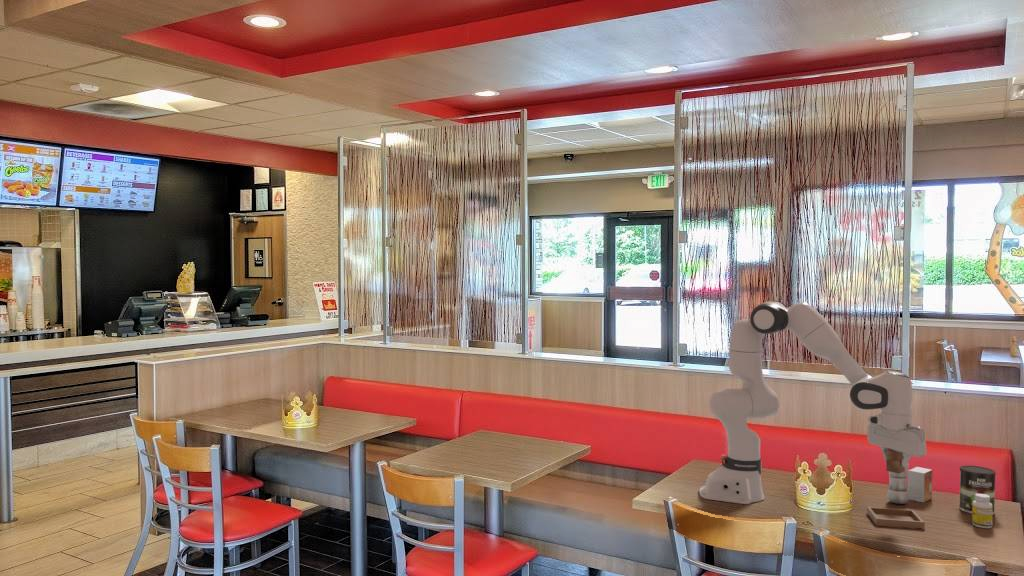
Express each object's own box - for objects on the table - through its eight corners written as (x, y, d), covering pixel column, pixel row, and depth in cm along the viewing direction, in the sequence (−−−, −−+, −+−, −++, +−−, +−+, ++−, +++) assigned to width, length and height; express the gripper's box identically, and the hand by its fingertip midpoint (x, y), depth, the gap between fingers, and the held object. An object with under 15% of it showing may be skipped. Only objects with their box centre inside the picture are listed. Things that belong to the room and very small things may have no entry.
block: (886, 470, 236) (886, 449, 236) (891, 468, 239) (892, 447, 238) (899, 473, 233) (899, 451, 233) (904, 471, 235) (905, 450, 235)
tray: (876, 525, 232) (876, 518, 232) (867, 513, 244) (867, 506, 244) (924, 529, 229) (924, 522, 229) (912, 516, 240) (913, 510, 240)
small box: (924, 503, 254) (924, 473, 254) (906, 499, 258) (907, 470, 258) (932, 498, 260) (933, 469, 259) (915, 495, 264) (916, 466, 264)
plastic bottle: (911, 506, 250) (912, 449, 250) (890, 505, 252) (890, 448, 251) (905, 500, 257) (906, 444, 256) (884, 499, 258) (885, 443, 258)
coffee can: (998, 517, 240) (999, 474, 240) (962, 513, 244) (963, 471, 243) (990, 507, 250) (991, 466, 249) (955, 504, 253) (956, 464, 253)
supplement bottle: (973, 521, 236) (973, 491, 236) (993, 525, 233) (993, 495, 232) (970, 526, 232) (971, 495, 232) (991, 530, 228) (991, 499, 228)
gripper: (931, 427, 227) (931, 471, 227) (878, 415, 246) (878, 455, 246) (916, 428, 225) (916, 473, 225) (864, 416, 244) (863, 457, 244)
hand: (895, 463), depth 236 cm, fingers closed on block, 5 cm apart
